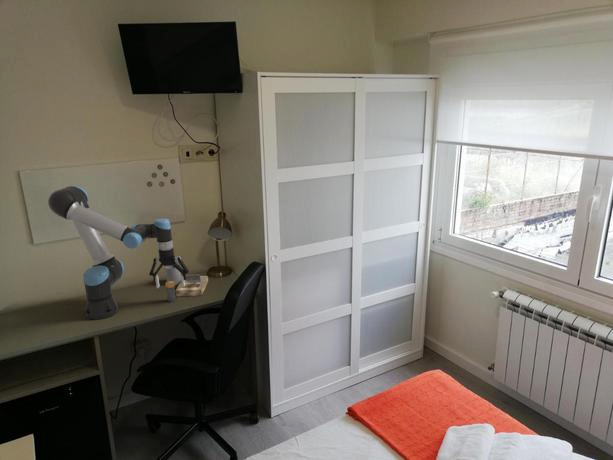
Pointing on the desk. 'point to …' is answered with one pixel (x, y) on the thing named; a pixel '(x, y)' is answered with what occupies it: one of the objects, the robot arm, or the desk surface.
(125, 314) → the desk surface
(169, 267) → the cup
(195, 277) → the shutter
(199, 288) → the socket board
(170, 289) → the orange grey cylinder
